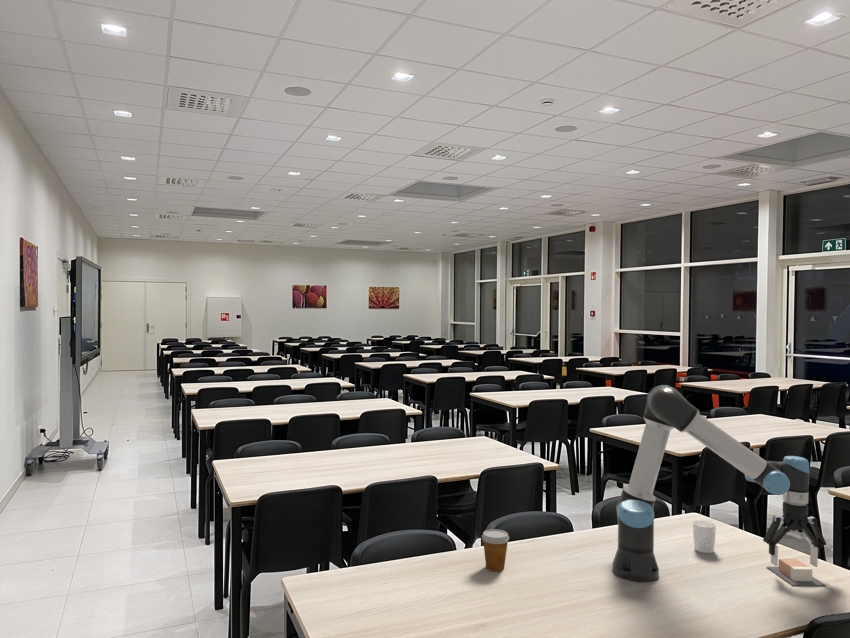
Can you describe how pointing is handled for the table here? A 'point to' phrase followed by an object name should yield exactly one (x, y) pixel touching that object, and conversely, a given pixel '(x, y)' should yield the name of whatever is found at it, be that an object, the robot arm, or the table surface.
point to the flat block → (795, 570)
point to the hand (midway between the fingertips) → (793, 564)
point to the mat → (795, 583)
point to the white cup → (704, 536)
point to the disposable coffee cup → (495, 548)
